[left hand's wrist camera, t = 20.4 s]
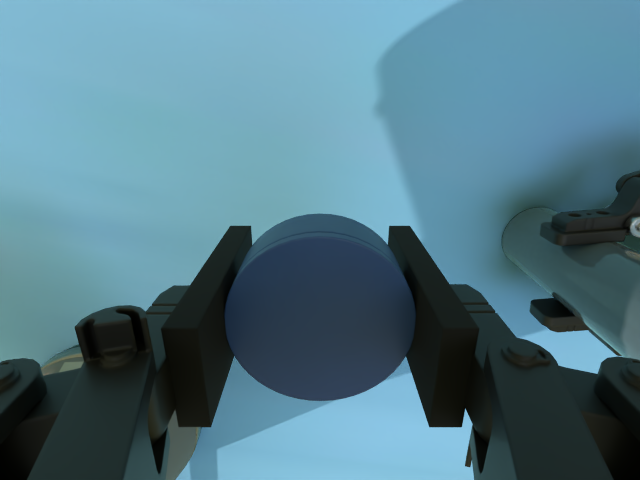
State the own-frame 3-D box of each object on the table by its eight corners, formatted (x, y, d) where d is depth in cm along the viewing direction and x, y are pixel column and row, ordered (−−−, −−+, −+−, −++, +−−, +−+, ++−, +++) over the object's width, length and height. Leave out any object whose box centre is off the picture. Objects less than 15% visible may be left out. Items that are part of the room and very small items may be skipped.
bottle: (539, 274, 30) (831, 510, 13) (489, 250, 29) (729, 468, 12) (578, 222, 28) (967, 413, 11) (526, 196, 28) (860, 358, 11)
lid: (335, 177, 11) (338, 194, 9) (432, 302, 12) (453, 340, 10) (204, 279, 12) (183, 313, 10) (308, 382, 13) (306, 428, 11)
